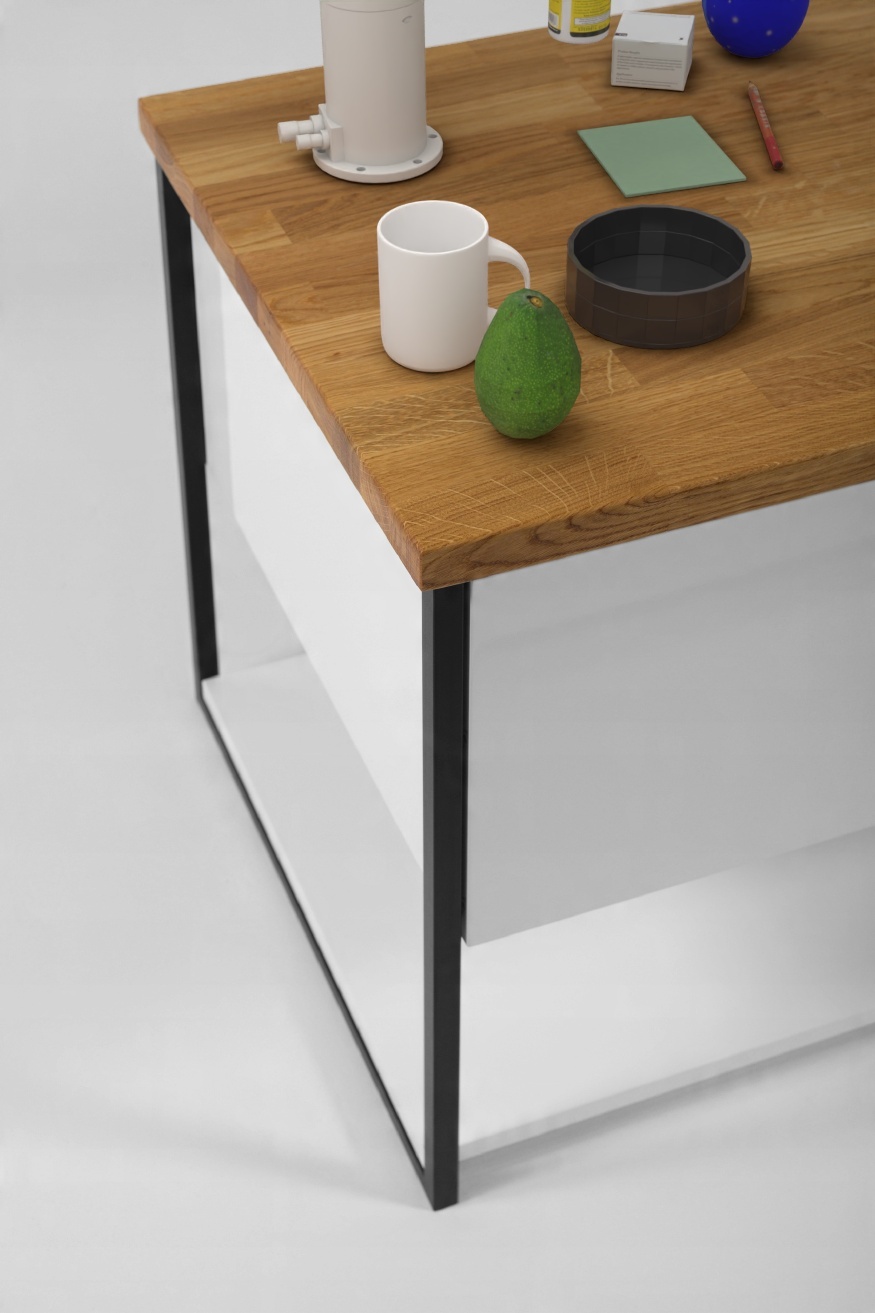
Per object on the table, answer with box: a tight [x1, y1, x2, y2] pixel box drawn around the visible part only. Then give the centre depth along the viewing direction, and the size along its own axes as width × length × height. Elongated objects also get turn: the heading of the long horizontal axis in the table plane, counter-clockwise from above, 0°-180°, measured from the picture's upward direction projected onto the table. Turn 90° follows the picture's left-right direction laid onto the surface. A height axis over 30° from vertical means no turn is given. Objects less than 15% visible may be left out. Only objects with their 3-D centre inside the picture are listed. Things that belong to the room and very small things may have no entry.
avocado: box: [473, 287, 583, 440], centre depth 120 cm, size 8×8×12 cm
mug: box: [376, 199, 531, 373], centre depth 129 cm, size 9×12×11 cm
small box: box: [610, 10, 696, 92], centre depth 169 cm, size 8×8×5 cm
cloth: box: [576, 115, 747, 198], centre depth 157 cm, size 12×14×1 cm
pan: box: [564, 203, 753, 350], centre depth 136 cm, size 15×15×5 cm
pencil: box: [747, 80, 785, 170], centre depth 161 cm, size 19×1×1 cm, turn 0°
